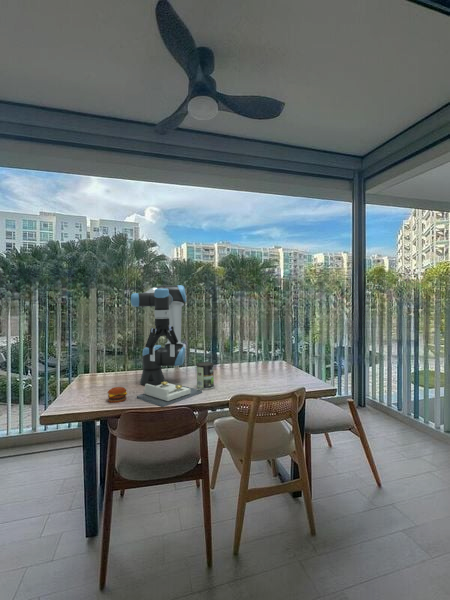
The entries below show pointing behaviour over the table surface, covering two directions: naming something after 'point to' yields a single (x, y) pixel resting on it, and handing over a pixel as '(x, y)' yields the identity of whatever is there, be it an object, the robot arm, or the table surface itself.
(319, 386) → the table surface
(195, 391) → the base
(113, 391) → the hamburger
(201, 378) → the coffee can
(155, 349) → the robot arm
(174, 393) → the panel
